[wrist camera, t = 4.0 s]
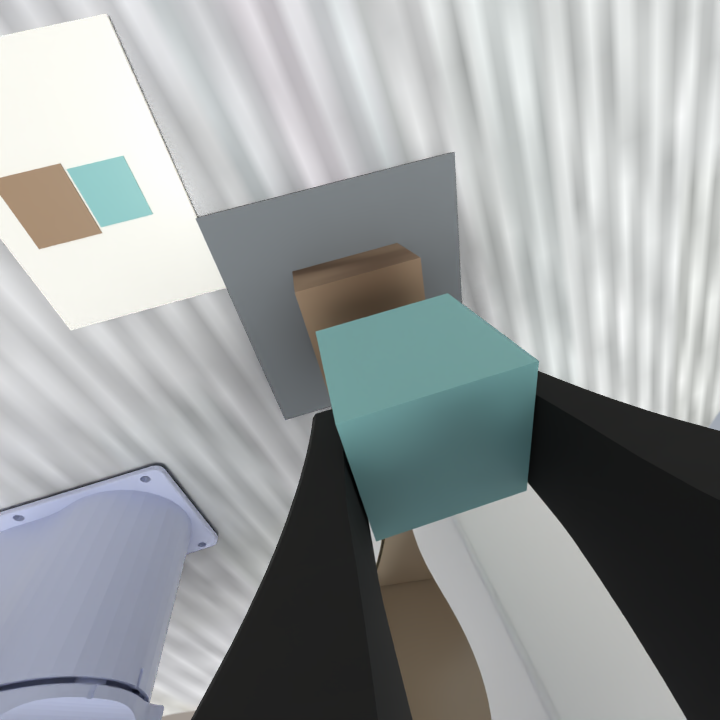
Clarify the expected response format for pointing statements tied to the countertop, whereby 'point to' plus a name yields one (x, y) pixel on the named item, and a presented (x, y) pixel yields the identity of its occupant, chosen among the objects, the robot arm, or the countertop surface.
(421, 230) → the build mat
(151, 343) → the countertop surface
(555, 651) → the gable box
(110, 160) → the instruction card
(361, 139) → the countertop surface
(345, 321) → the walnut block
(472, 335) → the teal cube
